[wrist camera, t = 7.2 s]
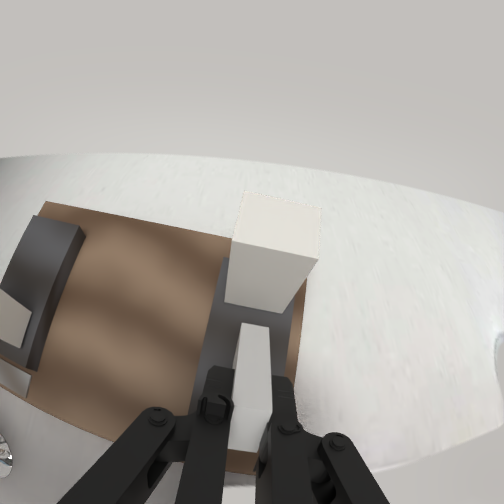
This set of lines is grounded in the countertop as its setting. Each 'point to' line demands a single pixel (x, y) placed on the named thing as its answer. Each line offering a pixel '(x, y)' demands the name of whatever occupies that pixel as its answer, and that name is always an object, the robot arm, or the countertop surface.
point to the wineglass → (5, 458)
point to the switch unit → (128, 320)
